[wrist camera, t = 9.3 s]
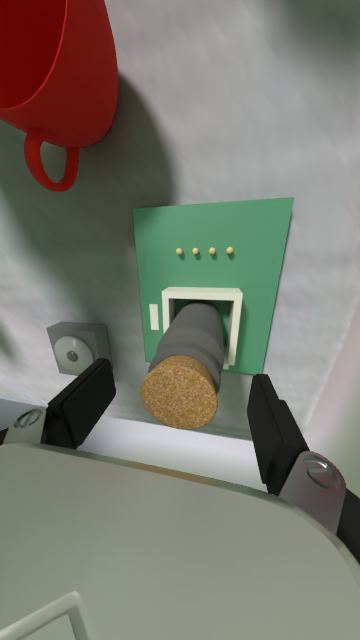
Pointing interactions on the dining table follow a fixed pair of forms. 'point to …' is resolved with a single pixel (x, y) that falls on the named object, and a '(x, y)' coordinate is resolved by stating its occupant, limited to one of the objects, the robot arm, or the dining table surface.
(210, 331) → the bottle
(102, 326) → the speaker
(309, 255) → the dining table surface
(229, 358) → the board
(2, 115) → the ceramic cup
